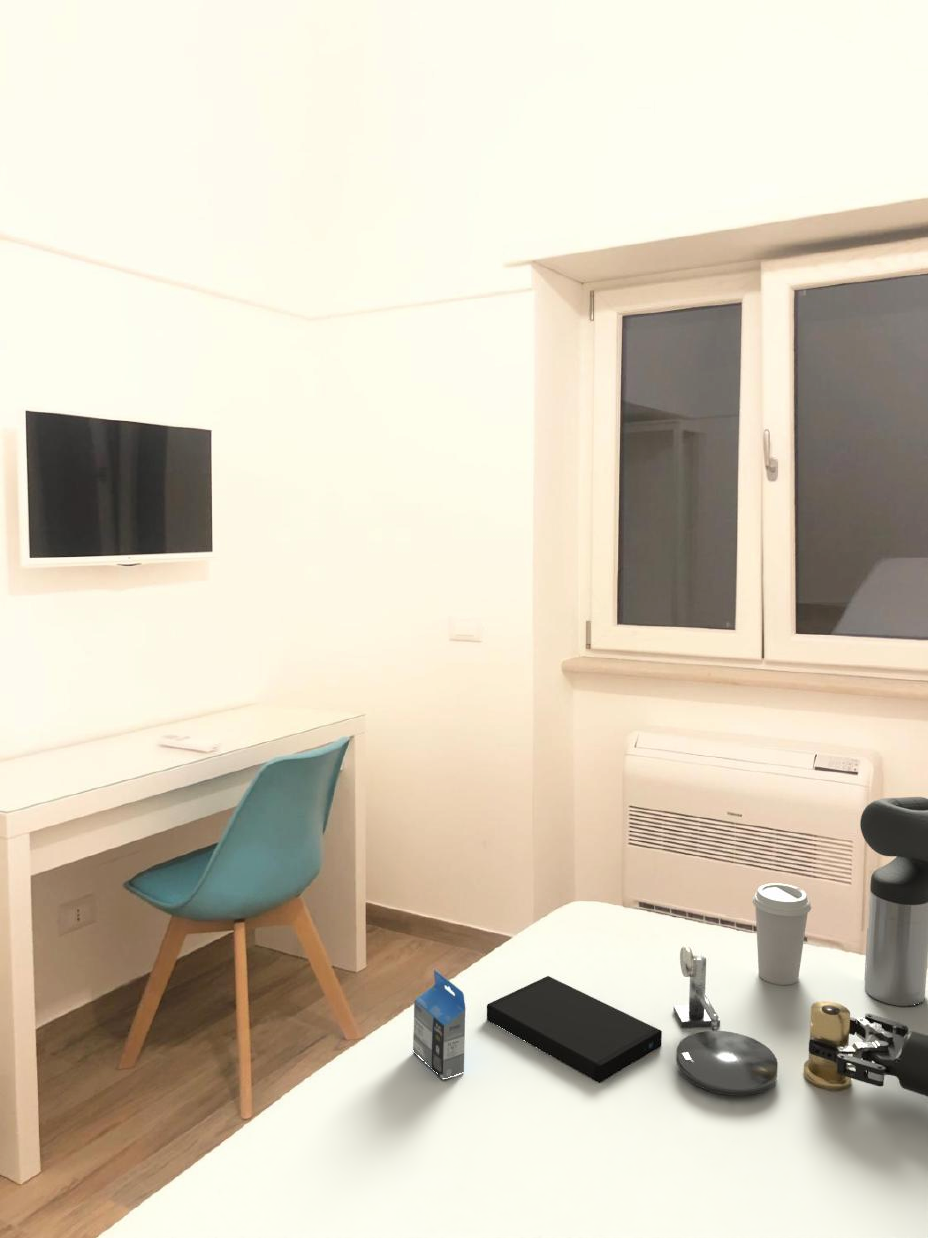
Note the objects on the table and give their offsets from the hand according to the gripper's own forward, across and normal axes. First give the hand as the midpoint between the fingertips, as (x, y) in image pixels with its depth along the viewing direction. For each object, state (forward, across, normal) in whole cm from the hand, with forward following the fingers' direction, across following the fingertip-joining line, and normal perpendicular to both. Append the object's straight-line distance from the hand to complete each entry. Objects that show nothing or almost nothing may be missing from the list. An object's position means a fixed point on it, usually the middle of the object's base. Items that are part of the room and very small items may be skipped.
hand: (819, 1031), depth 147 cm
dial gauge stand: (+18, -1, +6) cm, 19 cm away
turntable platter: (+11, +8, +6) cm, 15 cm away
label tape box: (+45, +30, +7) cm, 55 cm away
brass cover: (-1, 0, +6) cm, 7 cm away
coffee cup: (+15, -26, +7) cm, 30 cm away
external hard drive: (+34, +11, +7) cm, 36 cm away
